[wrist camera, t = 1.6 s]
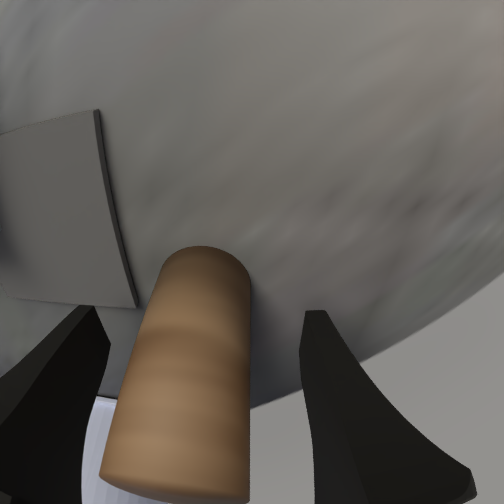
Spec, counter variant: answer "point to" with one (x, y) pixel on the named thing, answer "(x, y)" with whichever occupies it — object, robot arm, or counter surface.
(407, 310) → the counter surface
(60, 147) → the pad
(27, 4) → the counter surface
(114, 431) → the peg
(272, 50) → the counter surface
